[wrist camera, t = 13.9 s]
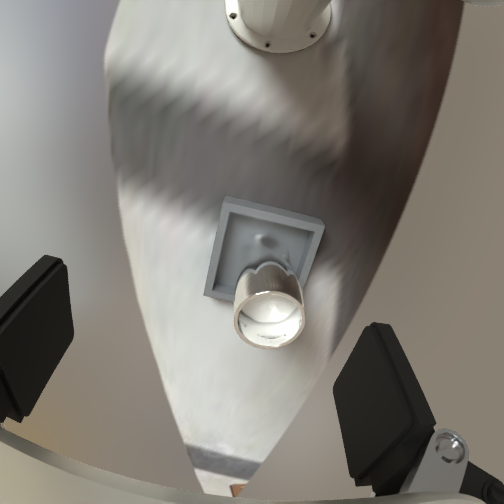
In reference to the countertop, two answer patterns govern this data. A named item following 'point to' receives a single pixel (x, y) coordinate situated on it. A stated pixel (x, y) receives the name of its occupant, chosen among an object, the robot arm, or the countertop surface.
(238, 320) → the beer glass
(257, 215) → the tray
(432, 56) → the countertop surface
